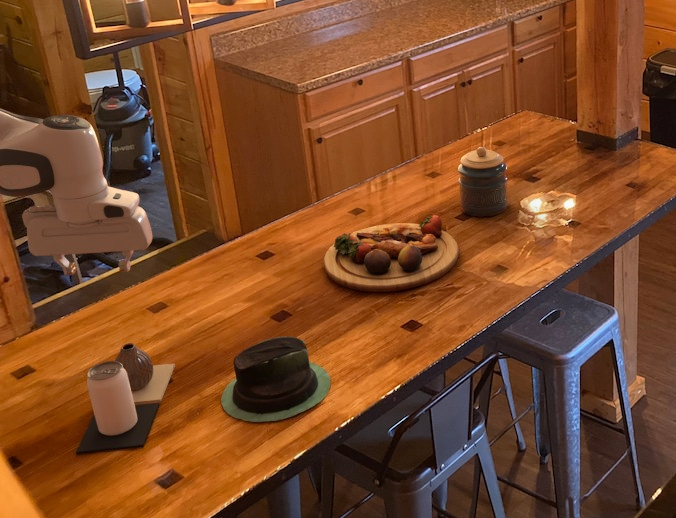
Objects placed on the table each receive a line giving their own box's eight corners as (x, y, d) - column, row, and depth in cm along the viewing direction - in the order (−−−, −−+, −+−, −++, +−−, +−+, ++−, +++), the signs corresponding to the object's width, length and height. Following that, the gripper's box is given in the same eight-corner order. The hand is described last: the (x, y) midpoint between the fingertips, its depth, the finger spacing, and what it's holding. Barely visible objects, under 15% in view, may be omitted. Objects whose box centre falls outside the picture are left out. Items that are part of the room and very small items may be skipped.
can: (107, 414, 174) (93, 360, 170) (143, 413, 175) (130, 358, 170) (92, 437, 169) (77, 381, 164) (130, 436, 169) (116, 380, 164)
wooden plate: (427, 220, 250) (424, 191, 247) (481, 270, 226) (480, 239, 223) (306, 251, 234) (302, 221, 231) (351, 308, 210) (347, 275, 206)
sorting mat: (76, 454, 165) (75, 451, 165) (116, 371, 188) (115, 368, 188) (143, 447, 167) (142, 444, 167) (175, 365, 190) (174, 362, 189)
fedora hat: (296, 342, 196) (356, 382, 184) (229, 416, 188) (288, 462, 176) (256, 302, 185) (317, 341, 174) (184, 378, 177) (243, 424, 166)
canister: (508, 197, 264) (506, 137, 257) (507, 217, 252) (505, 156, 245) (461, 198, 263) (458, 138, 256) (458, 218, 251) (454, 157, 244)
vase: (164, 379, 184) (155, 341, 181) (134, 399, 179) (125, 360, 175) (138, 370, 187) (129, 333, 184) (108, 390, 181) (99, 351, 178)
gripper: (13, 214, 165) (30, 284, 170) (138, 208, 168) (151, 276, 174) (26, 199, 171) (43, 267, 176) (147, 193, 174) (160, 260, 180)
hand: (98, 271), depth 175 cm, fingers open, 8 cm apart
